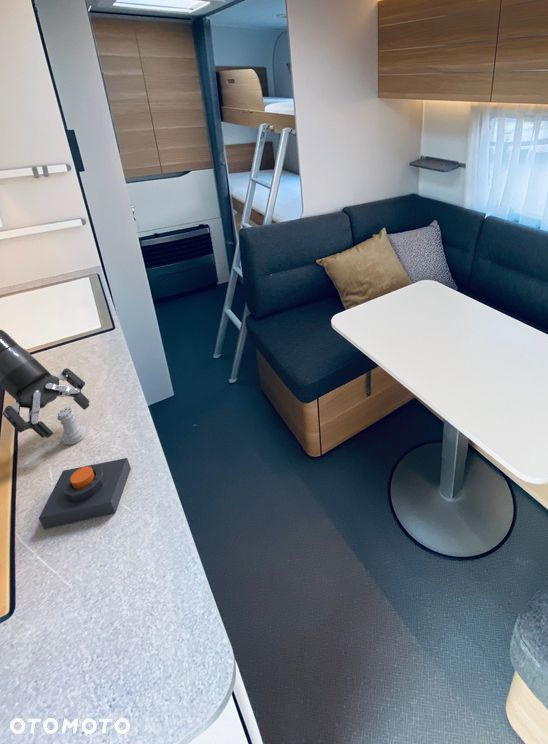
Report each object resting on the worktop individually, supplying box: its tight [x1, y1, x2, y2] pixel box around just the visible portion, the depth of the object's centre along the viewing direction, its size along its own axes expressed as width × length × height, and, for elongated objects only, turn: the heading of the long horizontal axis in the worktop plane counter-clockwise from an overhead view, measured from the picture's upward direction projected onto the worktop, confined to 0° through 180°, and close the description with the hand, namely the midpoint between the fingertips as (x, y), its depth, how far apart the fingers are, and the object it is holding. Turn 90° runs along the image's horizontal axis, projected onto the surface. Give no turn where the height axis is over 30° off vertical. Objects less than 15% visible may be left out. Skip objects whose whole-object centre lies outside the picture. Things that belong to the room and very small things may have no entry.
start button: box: [70, 465, 95, 489], centre depth 79 cm, size 4×4×2 cm
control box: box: [38, 457, 132, 530], centre depth 81 cm, size 12×10×5 cm
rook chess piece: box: [56, 407, 87, 445], centre depth 93 cm, size 4×4×8 cm
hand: (69, 421), depth 93 cm, fingers open, 8 cm apart
